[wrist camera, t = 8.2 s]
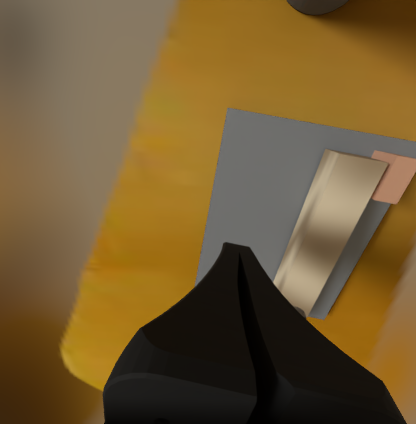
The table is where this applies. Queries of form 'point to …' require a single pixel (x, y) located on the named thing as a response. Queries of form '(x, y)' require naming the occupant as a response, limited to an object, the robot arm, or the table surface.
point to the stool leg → (326, 224)
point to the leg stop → (393, 176)
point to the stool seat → (283, 191)
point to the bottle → (316, 6)
